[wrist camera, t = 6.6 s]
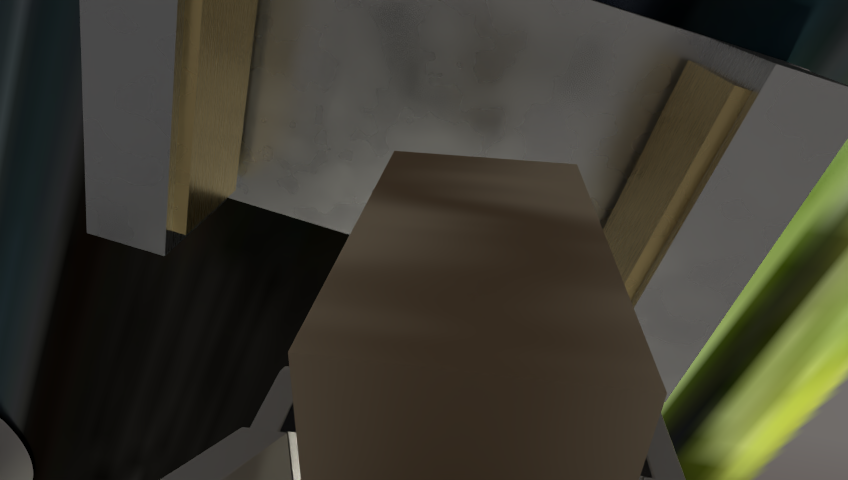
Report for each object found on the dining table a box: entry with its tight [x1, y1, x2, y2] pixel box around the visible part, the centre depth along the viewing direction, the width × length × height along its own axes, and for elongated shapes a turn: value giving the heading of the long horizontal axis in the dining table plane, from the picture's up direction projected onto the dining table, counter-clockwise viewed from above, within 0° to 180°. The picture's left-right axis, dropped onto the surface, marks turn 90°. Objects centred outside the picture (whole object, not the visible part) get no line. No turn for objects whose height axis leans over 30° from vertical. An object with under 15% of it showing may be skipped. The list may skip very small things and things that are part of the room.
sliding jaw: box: [80, 0, 258, 256], centre depth 22 cm, size 4×14×6 cm, turn 164°
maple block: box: [288, 151, 667, 480], centre depth 11 cm, size 4×8×7 cm, turn 178°
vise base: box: [228, 0, 848, 402], centre depth 24 cm, size 30×14×8 cm, turn 74°
